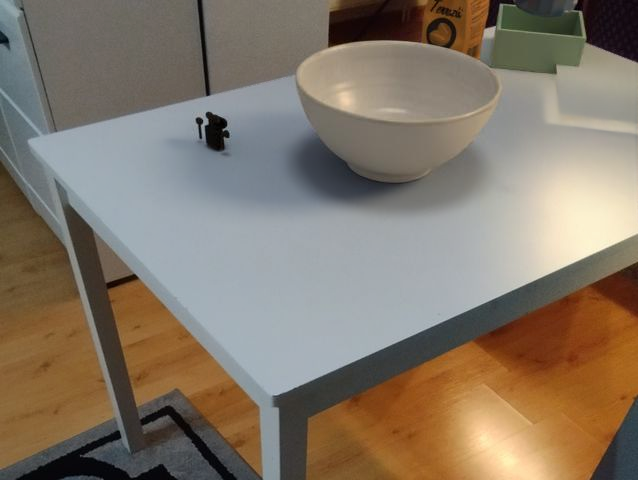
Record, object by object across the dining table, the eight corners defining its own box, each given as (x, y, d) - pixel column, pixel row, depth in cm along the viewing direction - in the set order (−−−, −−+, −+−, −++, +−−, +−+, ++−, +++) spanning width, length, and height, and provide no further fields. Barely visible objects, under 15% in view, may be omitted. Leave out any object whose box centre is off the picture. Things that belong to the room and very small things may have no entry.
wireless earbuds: (195, 141, 100) (191, 107, 97) (208, 135, 102) (205, 102, 98) (227, 157, 97) (224, 123, 93) (240, 151, 98) (238, 117, 95)
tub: (572, 46, 133) (581, 11, 128) (576, 76, 122) (586, 38, 117) (493, 38, 135) (500, 3, 130) (490, 67, 124) (497, 29, 120)
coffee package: (406, 76, 120) (422, -68, 105) (436, 55, 128) (455, -82, 113) (458, 89, 116) (483, -58, 101) (486, 66, 124) (512, -73, 109)
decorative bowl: (277, 128, 104) (276, 46, 95) (441, 113, 109) (453, 34, 101) (322, 223, 85) (324, 131, 77) (517, 199, 90) (540, 110, 82)
